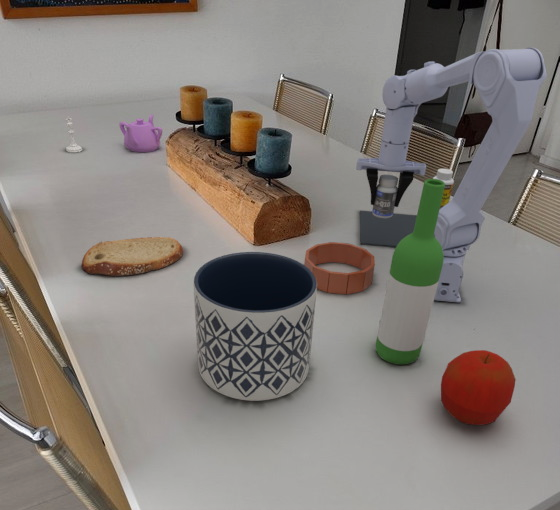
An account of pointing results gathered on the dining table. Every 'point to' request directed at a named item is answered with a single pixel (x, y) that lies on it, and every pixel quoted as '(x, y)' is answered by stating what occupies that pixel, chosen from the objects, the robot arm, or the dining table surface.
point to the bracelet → (340, 254)
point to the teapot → (141, 135)
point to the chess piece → (72, 138)
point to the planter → (254, 324)
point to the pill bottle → (385, 196)
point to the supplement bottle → (446, 177)
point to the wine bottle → (412, 283)
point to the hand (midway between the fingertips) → (384, 204)
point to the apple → (477, 387)
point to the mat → (385, 229)
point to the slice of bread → (131, 256)
